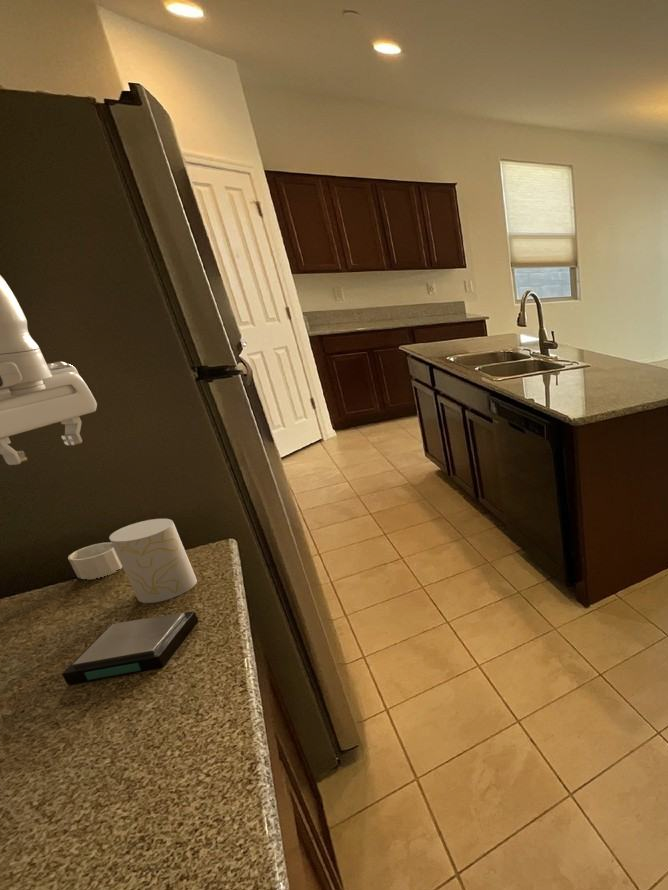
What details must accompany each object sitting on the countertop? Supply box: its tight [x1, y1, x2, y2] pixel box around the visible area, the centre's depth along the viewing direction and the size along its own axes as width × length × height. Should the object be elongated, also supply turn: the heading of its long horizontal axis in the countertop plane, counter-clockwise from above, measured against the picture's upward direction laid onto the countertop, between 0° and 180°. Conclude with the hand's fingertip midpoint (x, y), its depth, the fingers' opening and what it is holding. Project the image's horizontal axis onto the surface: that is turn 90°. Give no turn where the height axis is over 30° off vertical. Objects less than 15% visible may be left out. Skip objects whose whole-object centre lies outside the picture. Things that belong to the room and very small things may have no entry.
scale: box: [61, 610, 199, 686], centre depth 77 cm, size 11×11×3 cm
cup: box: [108, 518, 198, 604], centre depth 90 cm, size 8×8×12 cm
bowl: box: [67, 541, 123, 581], centre depth 97 cm, size 6×6×4 cm
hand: (47, 453), depth 87 cm, fingers open, 8 cm apart
